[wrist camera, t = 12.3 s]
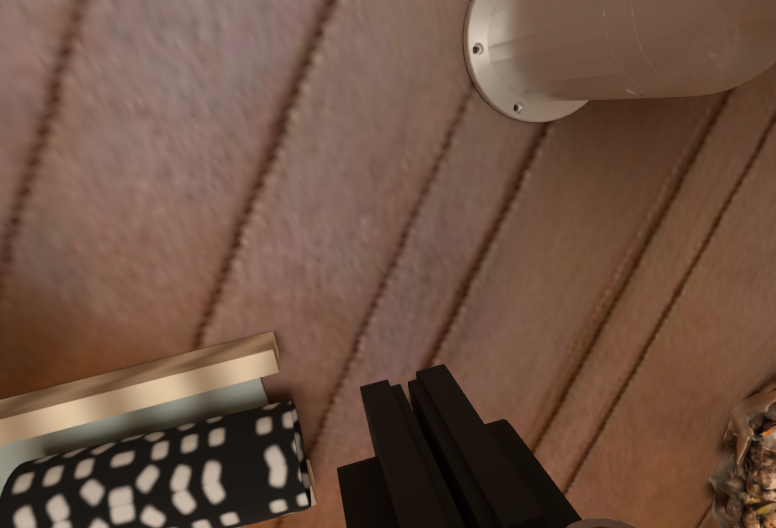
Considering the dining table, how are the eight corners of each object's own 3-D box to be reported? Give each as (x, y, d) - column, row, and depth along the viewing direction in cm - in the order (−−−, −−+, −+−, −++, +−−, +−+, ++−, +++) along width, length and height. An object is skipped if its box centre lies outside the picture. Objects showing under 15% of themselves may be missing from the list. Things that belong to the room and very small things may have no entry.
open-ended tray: (273, 331, 43) (272, 358, 38) (313, 477, 47) (318, 517, 43) (-70, 417, 39) (-117, 459, 34) (11, 566, 44) (-20, 620, 39)
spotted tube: (315, 529, 40) (39, 605, 37) (304, 442, 47) (69, 499, 44) (297, 465, 35) (-21, 546, 32) (287, 378, 42) (23, 438, 39)
